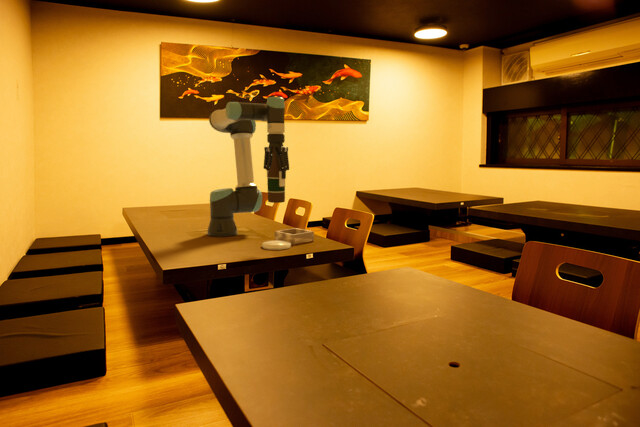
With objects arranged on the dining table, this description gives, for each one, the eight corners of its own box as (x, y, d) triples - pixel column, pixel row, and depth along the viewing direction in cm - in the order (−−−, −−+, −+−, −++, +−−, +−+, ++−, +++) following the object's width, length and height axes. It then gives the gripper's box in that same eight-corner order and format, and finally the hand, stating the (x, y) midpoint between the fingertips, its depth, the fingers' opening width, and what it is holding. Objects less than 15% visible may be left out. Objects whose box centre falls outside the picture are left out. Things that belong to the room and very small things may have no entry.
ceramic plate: (256, 246, 199) (256, 243, 199) (278, 242, 208) (278, 239, 208) (274, 251, 190) (274, 247, 189) (296, 246, 199) (296, 243, 198)
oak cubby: (274, 240, 213) (274, 231, 212) (295, 236, 222) (295, 227, 221) (292, 244, 203) (292, 235, 203) (313, 240, 213) (313, 231, 212)
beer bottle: (286, 200, 199) (286, 147, 196) (283, 203, 192) (283, 147, 188) (269, 200, 200) (269, 147, 197) (265, 202, 192) (265, 147, 189)
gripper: (254, 133, 196) (255, 184, 199) (284, 132, 182) (284, 187, 185) (268, 134, 201) (268, 183, 205) (298, 133, 187) (297, 186, 190)
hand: (276, 185), depth 195 cm, fingers closed on beer bottle, 8 cm apart
